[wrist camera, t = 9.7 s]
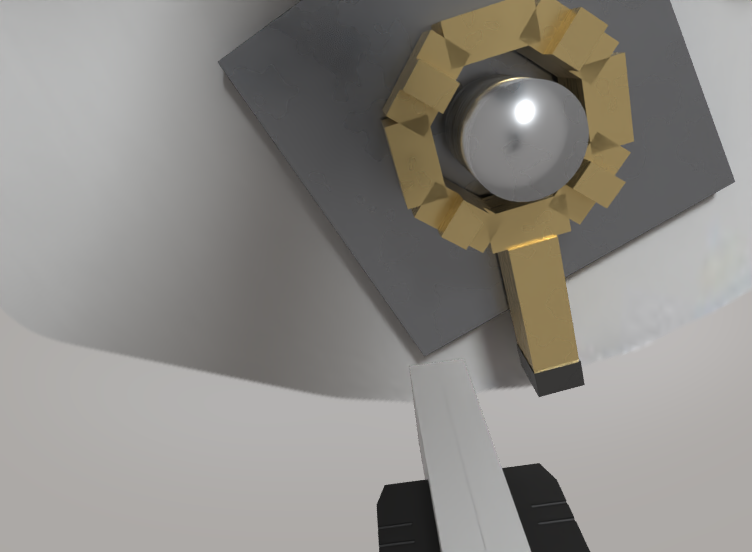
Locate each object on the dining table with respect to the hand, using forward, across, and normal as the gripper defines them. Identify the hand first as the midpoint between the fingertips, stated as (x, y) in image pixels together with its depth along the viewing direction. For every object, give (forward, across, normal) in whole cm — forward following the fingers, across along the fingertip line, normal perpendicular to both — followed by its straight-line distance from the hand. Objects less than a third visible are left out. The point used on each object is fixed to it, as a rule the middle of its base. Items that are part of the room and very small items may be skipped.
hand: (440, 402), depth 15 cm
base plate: (+17, +6, +4) cm, 19 cm away
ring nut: (+15, +6, 0) cm, 17 cm away
